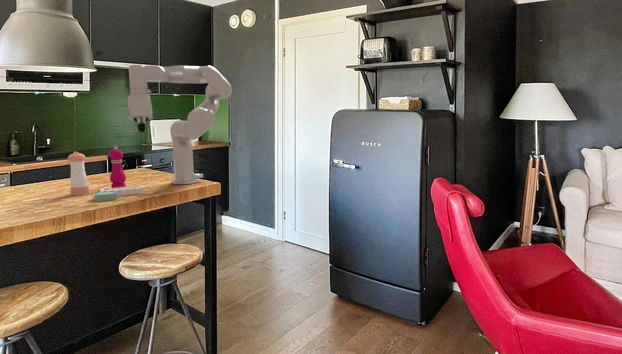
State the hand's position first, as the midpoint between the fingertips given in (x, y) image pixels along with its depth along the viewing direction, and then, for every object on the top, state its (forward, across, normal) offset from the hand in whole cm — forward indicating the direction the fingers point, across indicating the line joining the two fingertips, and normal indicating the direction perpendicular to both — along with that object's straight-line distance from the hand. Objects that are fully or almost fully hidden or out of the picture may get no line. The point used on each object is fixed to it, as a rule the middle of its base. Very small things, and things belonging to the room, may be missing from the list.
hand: (141, 131), depth 207 cm
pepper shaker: (+27, +28, -1) cm, 39 cm away
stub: (+27, +19, +16) cm, 36 cm away
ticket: (+27, +11, +8) cm, 30 cm away
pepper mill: (+27, +11, -9) cm, 31 cm away
